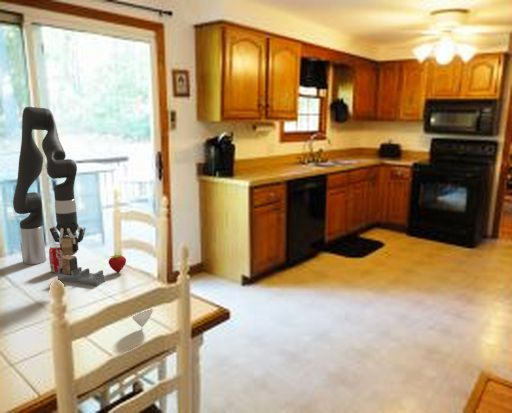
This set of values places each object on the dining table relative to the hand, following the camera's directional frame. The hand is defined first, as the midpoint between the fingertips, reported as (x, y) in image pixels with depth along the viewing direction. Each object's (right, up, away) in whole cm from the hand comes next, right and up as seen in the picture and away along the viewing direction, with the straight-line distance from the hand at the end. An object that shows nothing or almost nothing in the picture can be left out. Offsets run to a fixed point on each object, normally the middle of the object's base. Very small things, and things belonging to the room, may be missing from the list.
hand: (69, 251), depth 165 cm
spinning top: (+37, -23, -29) cm, 52 cm away
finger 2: (0, -1, 0) cm, 1 cm away
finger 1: (-5, -10, +10) cm, 15 cm away
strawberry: (+13, -12, +19) cm, 26 cm away
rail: (+1, -13, +9) cm, 16 cm away
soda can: (-14, -11, +20) cm, 27 cm away
